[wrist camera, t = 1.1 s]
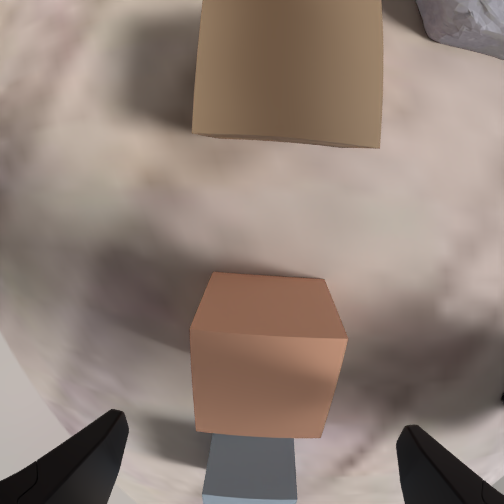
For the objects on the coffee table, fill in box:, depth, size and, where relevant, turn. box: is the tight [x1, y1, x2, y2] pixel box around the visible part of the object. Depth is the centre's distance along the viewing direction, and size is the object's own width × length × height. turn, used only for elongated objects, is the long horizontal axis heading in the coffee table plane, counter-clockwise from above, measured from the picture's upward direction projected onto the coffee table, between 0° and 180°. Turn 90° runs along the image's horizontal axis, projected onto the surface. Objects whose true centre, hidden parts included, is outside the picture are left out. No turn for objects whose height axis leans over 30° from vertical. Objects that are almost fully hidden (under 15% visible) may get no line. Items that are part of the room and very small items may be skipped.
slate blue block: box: [202, 433, 297, 504], centre depth 16 cm, size 5×5×5 cm
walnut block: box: [192, 0, 383, 149], centre depth 10 cm, size 5×5×5 cm
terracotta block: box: [189, 272, 348, 438], centre depth 13 cm, size 5×5×5 cm
